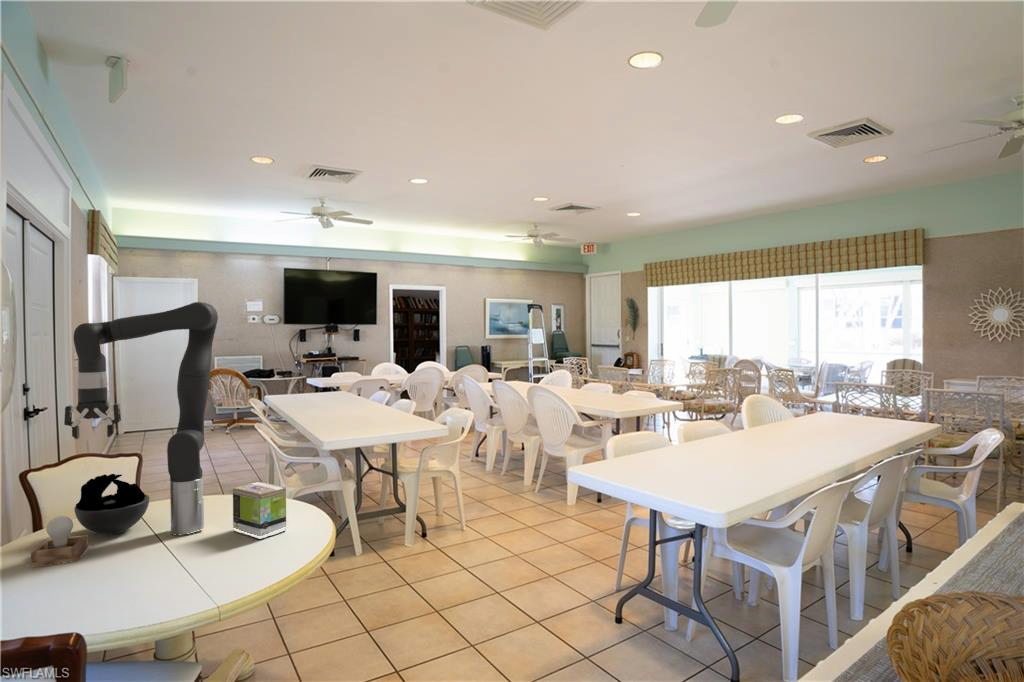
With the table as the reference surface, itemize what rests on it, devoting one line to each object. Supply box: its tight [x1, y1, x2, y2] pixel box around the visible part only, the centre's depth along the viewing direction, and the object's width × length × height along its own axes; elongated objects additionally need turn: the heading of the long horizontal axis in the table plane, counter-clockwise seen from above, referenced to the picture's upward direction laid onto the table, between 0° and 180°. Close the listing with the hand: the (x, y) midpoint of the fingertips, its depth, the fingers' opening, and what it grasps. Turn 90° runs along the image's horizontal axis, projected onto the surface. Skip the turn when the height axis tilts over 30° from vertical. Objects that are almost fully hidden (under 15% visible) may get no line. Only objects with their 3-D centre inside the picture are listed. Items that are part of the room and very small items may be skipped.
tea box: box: [232, 481, 287, 536], centre depth 186 cm, size 15×10×15 cm, turn 58°
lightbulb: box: [45, 515, 74, 548], centre depth 165 cm, size 6×6×11 cm
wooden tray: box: [29, 534, 90, 568], centre depth 165 cm, size 11×11×4 cm
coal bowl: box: [74, 473, 150, 535], centre depth 185 cm, size 20×20×19 cm
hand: (93, 437), depth 179 cm, fingers open, 8 cm apart
